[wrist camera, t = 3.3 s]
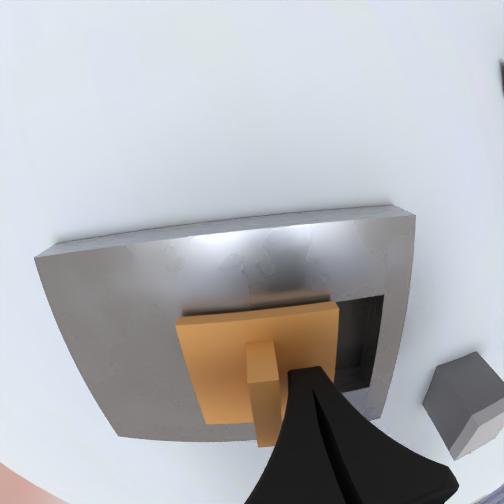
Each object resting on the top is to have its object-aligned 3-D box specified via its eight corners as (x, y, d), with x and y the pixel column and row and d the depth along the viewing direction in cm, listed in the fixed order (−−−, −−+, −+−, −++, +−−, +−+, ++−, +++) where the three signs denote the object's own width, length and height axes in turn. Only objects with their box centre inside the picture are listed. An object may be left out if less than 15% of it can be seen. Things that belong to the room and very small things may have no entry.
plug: (460, 388, 17) (494, 438, 11) (422, 404, 17) (454, 461, 11) (476, 351, 16) (519, 401, 10) (436, 366, 16) (479, 426, 10)
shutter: (327, 403, 13) (340, 446, 10) (207, 415, 13) (202, 460, 10) (334, 300, 11) (358, 343, 8) (178, 317, 11) (162, 363, 8)
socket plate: (370, 395, 16) (380, 417, 14) (126, 414, 16) (118, 436, 14) (392, 205, 12) (415, 214, 10) (56, 243, 12) (33, 257, 10)
